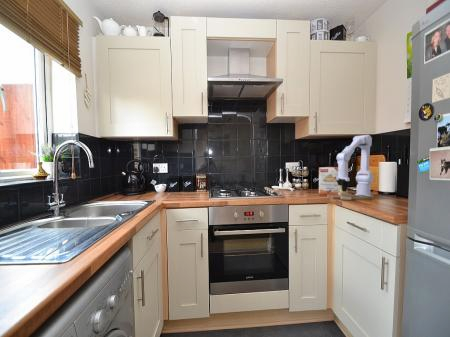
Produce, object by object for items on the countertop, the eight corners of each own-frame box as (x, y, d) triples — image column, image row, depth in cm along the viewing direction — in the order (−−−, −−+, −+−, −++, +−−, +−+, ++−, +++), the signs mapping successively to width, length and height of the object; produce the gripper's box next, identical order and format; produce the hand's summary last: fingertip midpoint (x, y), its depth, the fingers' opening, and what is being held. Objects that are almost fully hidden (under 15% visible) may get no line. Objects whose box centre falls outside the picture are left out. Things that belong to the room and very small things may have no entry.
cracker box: (320, 194, 168) (320, 167, 168) (318, 193, 174) (318, 167, 173) (339, 194, 165) (340, 167, 164) (337, 193, 171) (338, 167, 170)
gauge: (335, 197, 152) (335, 185, 151) (344, 197, 151) (344, 185, 151) (341, 199, 142) (341, 186, 142) (351, 199, 142) (351, 186, 142)
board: (327, 196, 157) (327, 194, 157) (362, 196, 155) (362, 194, 155) (333, 199, 145) (333, 197, 145) (371, 199, 143) (372, 197, 143)
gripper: (332, 170, 154) (332, 189, 155) (341, 171, 140) (341, 192, 140) (343, 170, 154) (342, 189, 154) (353, 171, 139) (352, 192, 140)
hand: (342, 190), depth 147 cm, fingers closed on gauge, 4 cm apart
